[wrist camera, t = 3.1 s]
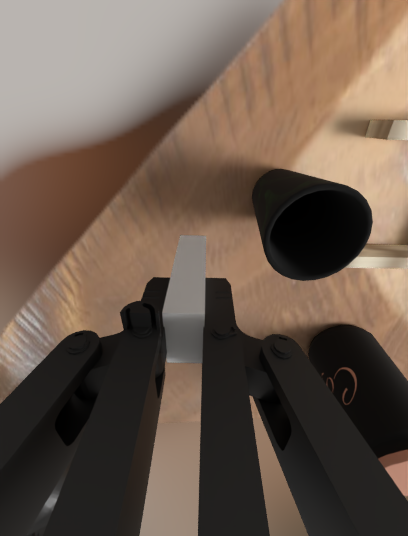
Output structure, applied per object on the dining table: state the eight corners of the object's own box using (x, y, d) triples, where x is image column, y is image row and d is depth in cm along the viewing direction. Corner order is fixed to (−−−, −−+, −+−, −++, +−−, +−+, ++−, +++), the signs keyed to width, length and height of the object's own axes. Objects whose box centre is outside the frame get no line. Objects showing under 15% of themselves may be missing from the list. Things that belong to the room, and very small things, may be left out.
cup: (309, 219, 29) (364, 273, 19) (246, 231, 30) (267, 288, 20) (311, 151, 25) (382, 172, 15) (239, 166, 26) (260, 196, 16)
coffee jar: (317, 319, 38) (393, 455, 23) (383, 324, 38) (500, 460, 23) (298, 362, 43) (347, 494, 28) (355, 366, 44) (435, 498, 29)
